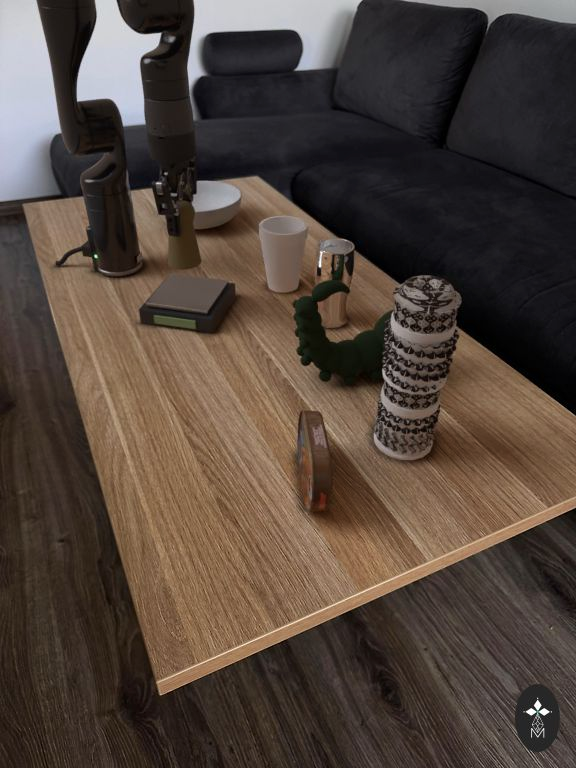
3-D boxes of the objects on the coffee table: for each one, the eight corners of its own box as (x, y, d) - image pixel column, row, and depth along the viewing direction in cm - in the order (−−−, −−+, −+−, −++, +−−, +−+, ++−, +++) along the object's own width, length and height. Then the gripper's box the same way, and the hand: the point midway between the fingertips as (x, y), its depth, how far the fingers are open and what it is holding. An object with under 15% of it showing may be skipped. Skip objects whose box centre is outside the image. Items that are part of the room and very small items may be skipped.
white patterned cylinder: (399, 471, 80) (427, 312, 65) (358, 432, 86) (374, 278, 71) (448, 447, 84) (486, 291, 69) (405, 411, 90) (431, 261, 75)
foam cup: (270, 300, 117) (269, 238, 109) (253, 279, 124) (251, 220, 116) (313, 290, 120) (315, 230, 112) (294, 271, 127) (295, 212, 119)
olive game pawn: (207, 258, 109) (203, 199, 102) (190, 272, 105) (183, 211, 98) (180, 252, 111) (173, 194, 104) (161, 265, 107) (153, 205, 100)
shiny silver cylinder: (346, 331, 108) (353, 256, 99) (309, 327, 109) (312, 252, 100) (351, 312, 113) (357, 239, 104) (315, 308, 115) (318, 235, 105)
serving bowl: (172, 204, 157) (169, 178, 153) (249, 209, 155) (248, 182, 151) (146, 236, 141) (142, 207, 137) (232, 241, 139) (231, 213, 134)
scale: (140, 324, 109) (137, 310, 108) (170, 288, 121) (168, 274, 119) (211, 334, 107) (210, 320, 105) (235, 296, 118) (235, 283, 116)
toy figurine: (307, 406, 94) (456, 377, 96) (299, 303, 82) (469, 273, 84) (295, 371, 101) (434, 345, 104) (285, 272, 89) (443, 245, 92)
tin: (295, 442, 85) (296, 397, 79) (317, 441, 85) (319, 396, 80) (307, 526, 73) (309, 479, 68) (332, 525, 73) (336, 477, 68)
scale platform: (145, 306, 108) (145, 302, 108) (171, 276, 118) (170, 273, 117) (207, 314, 106) (207, 311, 106) (228, 284, 115) (228, 280, 115)
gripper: (166, 114, 100) (176, 212, 110) (128, 137, 89) (144, 243, 99) (208, 117, 98) (214, 215, 109) (175, 141, 87) (186, 248, 98)
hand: (181, 228), depth 104 cm, fingers closed on olive game pawn, 5 cm apart
